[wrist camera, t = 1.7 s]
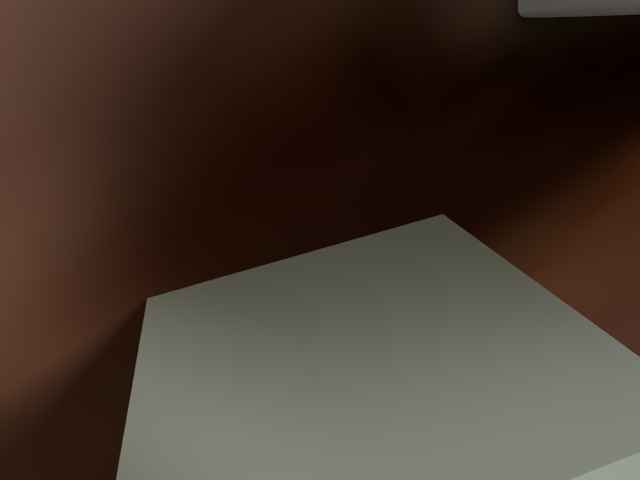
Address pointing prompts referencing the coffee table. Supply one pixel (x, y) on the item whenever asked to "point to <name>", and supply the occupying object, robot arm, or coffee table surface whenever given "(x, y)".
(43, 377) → the coffee table surface
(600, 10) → the small box
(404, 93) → the coffee table surface
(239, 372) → the sage crate
